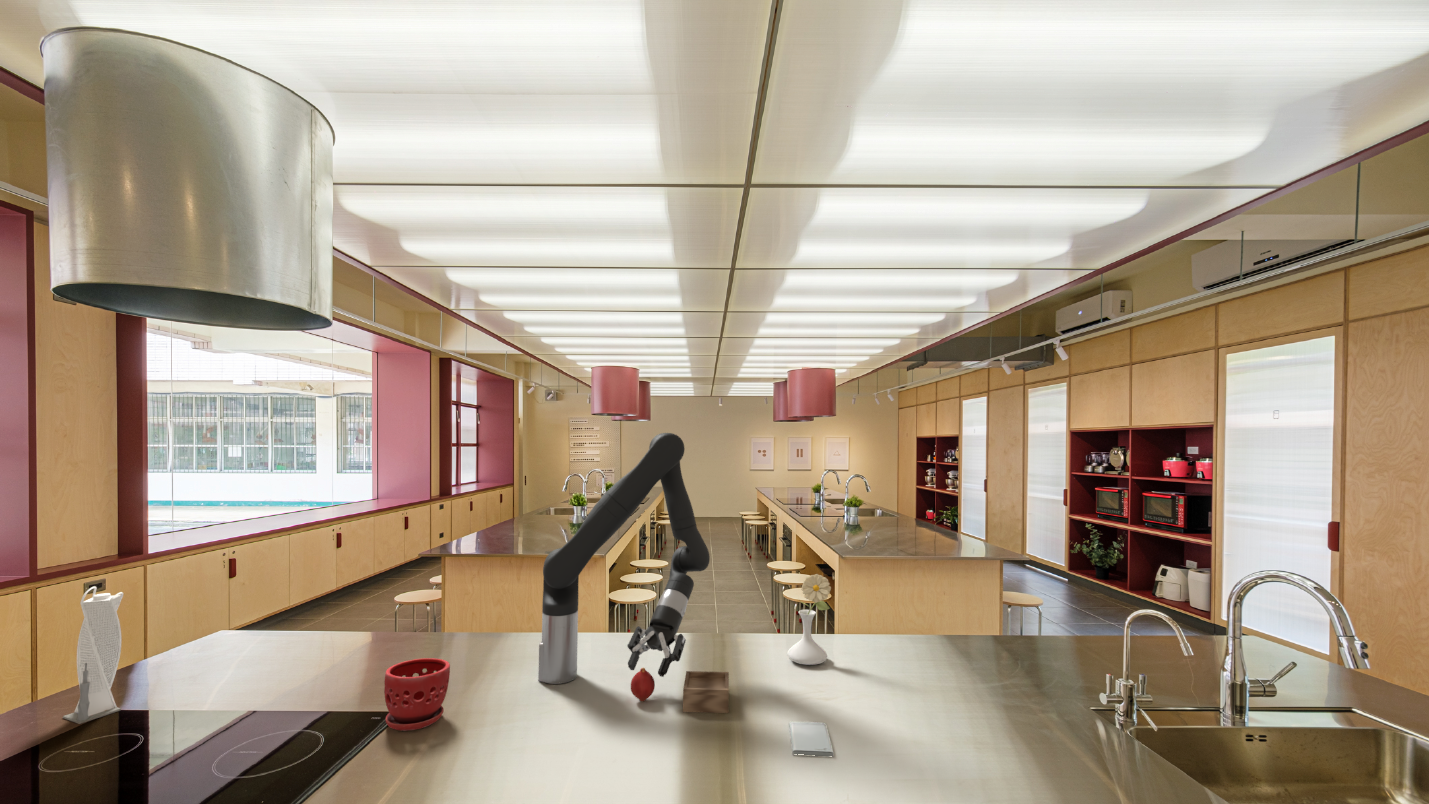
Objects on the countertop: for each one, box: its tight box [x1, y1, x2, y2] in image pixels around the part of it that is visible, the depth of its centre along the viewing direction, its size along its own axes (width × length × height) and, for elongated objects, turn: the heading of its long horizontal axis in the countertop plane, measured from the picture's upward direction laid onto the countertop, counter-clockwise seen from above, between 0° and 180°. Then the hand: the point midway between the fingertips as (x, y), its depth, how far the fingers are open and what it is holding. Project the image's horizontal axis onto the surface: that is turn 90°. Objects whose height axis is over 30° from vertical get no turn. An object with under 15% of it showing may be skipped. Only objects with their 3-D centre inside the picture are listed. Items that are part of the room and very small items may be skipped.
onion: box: [630, 667, 655, 703], centre depth 145 cm, size 6×6×8 cm
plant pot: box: [383, 657, 451, 732], centre depth 135 cm, size 13×13×12 cm
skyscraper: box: [62, 585, 124, 725], centre depth 138 cm, size 8×8×28 cm
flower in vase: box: [786, 573, 832, 666], centre depth 172 cm, size 13×11×25 cm
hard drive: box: [788, 720, 834, 758], centre depth 127 cm, size 2×8×12 cm
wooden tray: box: [682, 670, 730, 714], centre depth 145 cm, size 11×11×5 cm
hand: (645, 672), depth 146 cm, fingers open, 8 cm apart
